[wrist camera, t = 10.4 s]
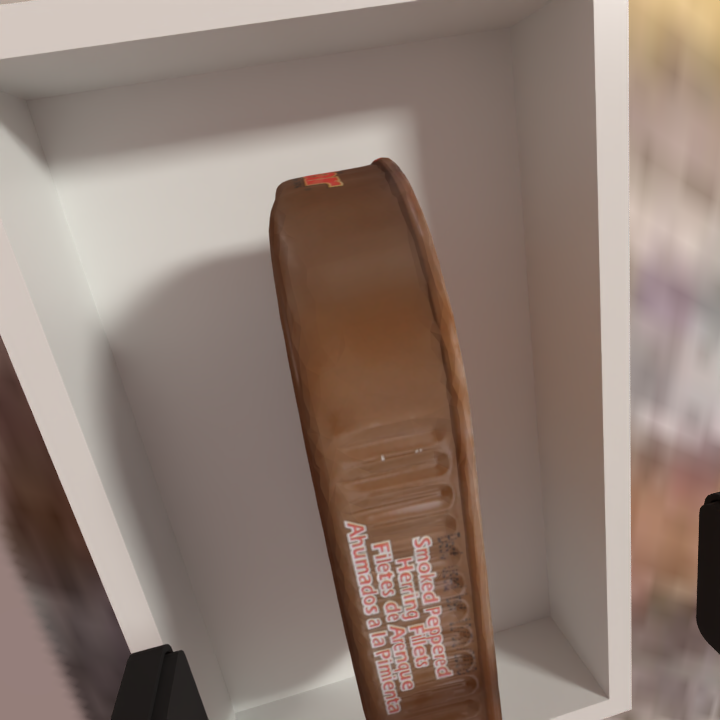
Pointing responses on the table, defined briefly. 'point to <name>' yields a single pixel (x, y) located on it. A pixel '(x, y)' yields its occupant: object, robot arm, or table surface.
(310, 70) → the tote
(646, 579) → the table surface
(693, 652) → the table surface
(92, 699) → the table surface
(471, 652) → the tin
